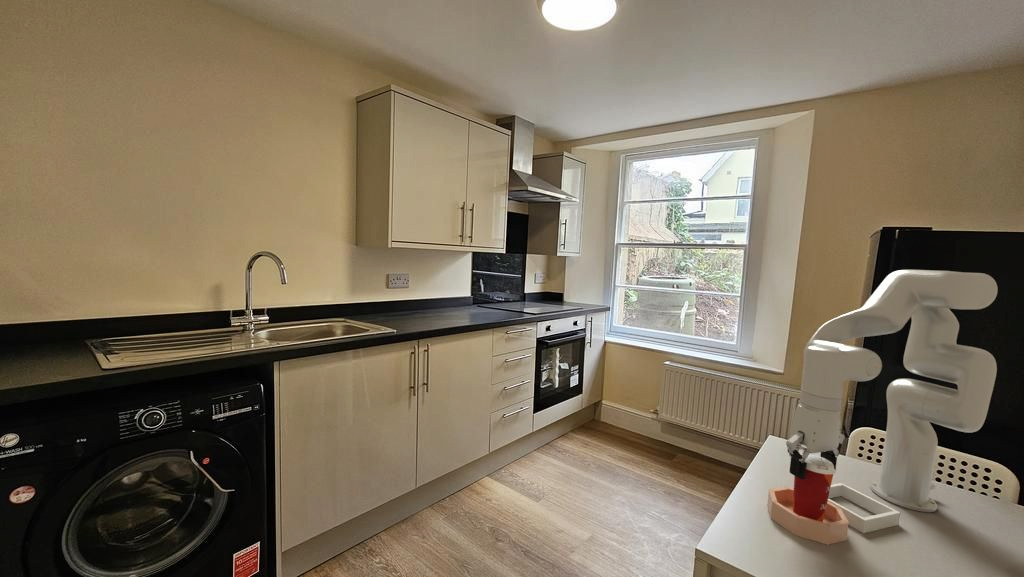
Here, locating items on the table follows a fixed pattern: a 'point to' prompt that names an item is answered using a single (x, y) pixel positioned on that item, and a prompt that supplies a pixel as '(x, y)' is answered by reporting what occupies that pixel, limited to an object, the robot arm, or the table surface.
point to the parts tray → (883, 513)
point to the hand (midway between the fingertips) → (812, 473)
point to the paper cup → (813, 488)
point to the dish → (823, 532)
